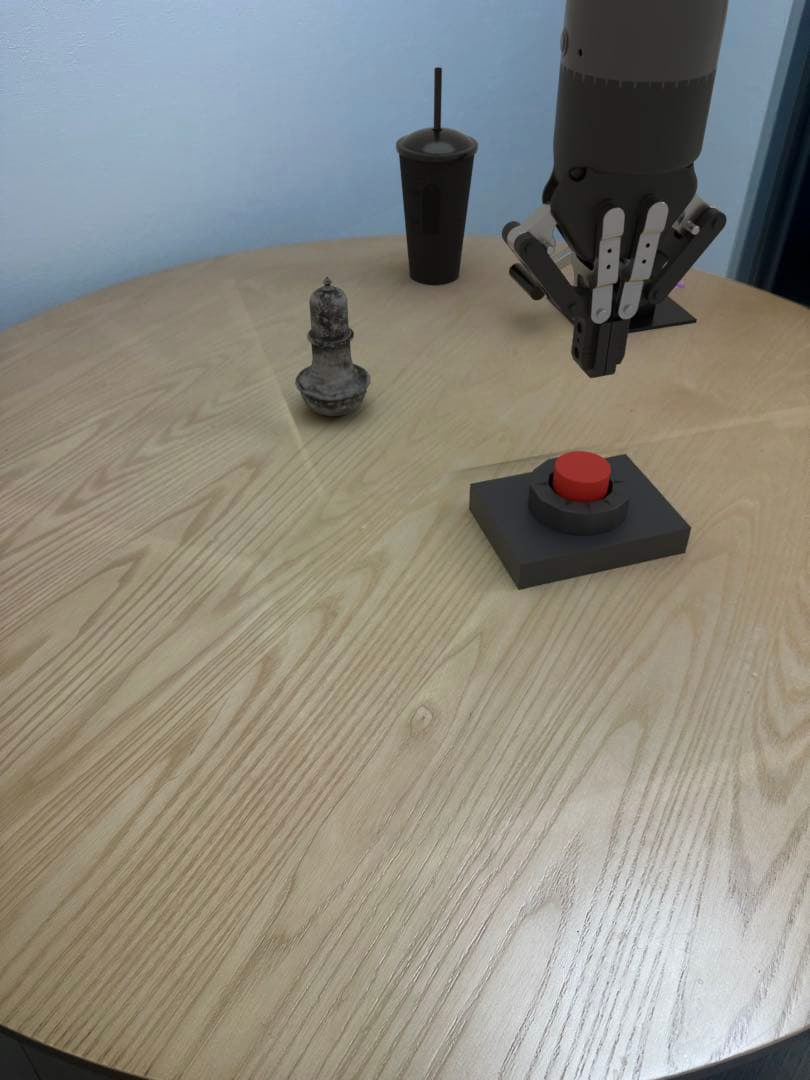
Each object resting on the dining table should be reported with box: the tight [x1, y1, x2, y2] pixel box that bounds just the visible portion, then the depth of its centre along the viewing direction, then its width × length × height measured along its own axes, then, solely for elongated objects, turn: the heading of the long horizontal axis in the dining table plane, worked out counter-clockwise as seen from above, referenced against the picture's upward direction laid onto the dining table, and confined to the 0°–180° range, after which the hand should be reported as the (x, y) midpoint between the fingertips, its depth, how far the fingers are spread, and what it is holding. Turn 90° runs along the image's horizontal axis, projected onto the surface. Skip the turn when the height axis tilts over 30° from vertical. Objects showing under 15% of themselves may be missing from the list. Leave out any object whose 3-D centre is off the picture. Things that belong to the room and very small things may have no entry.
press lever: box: [508, 245, 571, 302], centre depth 83 cm, size 13×5×2 cm, turn 107°
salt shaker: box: [294, 275, 371, 417], centre depth 72 cm, size 6×6×12 cm
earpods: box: [674, 280, 685, 289], centre depth 94 cm, size 3×2×2 cm
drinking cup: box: [395, 66, 479, 286], centre depth 89 cm, size 8×8×20 cm
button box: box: [468, 453, 692, 591], centre depth 63 cm, size 12×9×4 cm
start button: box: [553, 450, 611, 503], centre depth 62 cm, size 4×4×2 cm
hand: (595, 370), depth 57 cm, fingers closed
